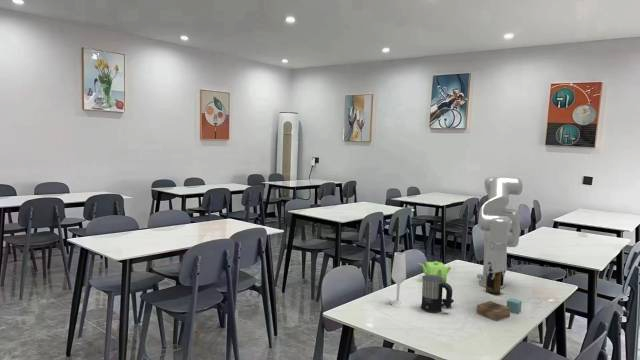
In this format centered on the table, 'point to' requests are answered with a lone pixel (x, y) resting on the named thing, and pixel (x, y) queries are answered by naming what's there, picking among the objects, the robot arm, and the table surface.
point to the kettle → (436, 269)
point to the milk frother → (435, 294)
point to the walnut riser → (493, 310)
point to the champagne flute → (398, 274)
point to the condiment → (495, 286)
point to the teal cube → (514, 305)
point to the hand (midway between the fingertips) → (495, 285)
